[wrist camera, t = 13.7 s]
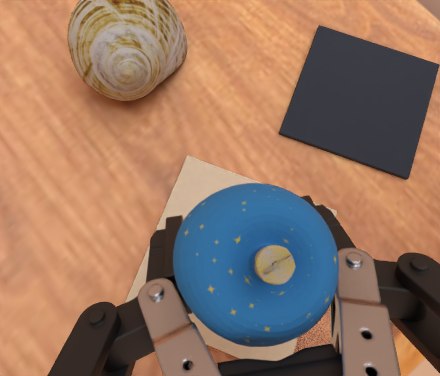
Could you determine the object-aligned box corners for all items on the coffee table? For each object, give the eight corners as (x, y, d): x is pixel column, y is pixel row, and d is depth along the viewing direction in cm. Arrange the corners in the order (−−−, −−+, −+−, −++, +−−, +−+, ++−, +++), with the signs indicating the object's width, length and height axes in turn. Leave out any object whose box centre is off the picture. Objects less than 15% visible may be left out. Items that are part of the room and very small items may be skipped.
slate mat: (436, 66, 31) (439, 64, 31) (406, 179, 29) (408, 178, 28) (318, 27, 32) (319, 25, 32) (278, 134, 30) (279, 132, 29)
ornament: (184, 250, 22) (105, 234, 7) (247, 208, 22) (295, 111, 8) (228, 318, 21) (241, 464, 6) (292, 272, 21) (445, 302, 7)
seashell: (173, -11, 32) (176, -62, 22) (194, 89, 35) (205, 82, 25) (69, 7, 31) (26, -38, 21) (99, 109, 34) (73, 109, 24)
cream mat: (336, 211, 28) (337, 210, 28) (284, 376, 25) (285, 377, 25) (187, 156, 29) (187, 155, 29) (123, 308, 26) (121, 309, 26)
